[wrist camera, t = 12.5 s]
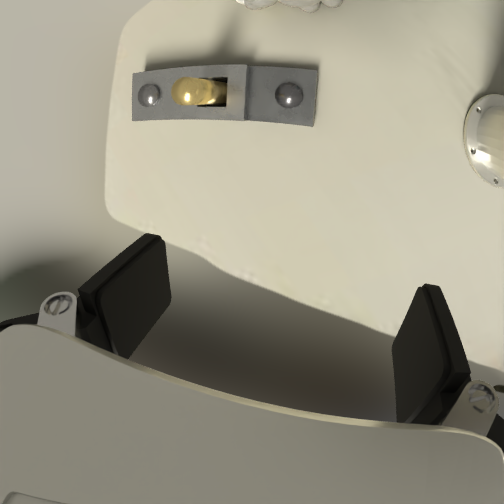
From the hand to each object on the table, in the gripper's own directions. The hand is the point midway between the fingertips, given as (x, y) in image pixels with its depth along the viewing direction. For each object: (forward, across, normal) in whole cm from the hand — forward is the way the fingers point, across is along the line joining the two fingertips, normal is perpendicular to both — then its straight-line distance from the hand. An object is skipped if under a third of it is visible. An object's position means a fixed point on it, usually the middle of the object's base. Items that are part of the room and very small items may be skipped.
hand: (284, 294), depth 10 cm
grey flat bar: (+28, +13, -7) cm, 32 cm away
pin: (+28, +13, -7) cm, 32 cm away
